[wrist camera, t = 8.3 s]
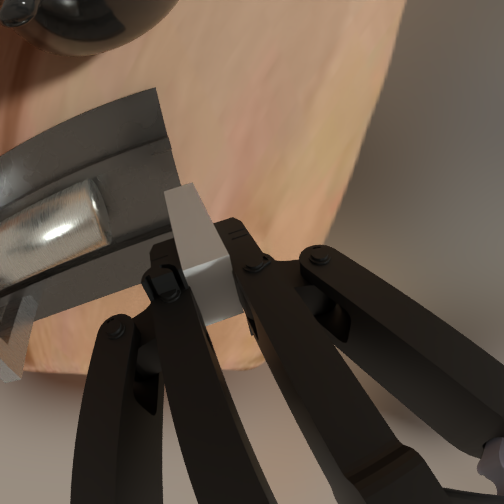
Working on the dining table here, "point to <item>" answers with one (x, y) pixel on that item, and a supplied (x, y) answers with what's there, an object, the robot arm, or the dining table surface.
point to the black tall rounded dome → (82, 23)
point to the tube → (53, 232)
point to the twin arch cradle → (116, 201)
